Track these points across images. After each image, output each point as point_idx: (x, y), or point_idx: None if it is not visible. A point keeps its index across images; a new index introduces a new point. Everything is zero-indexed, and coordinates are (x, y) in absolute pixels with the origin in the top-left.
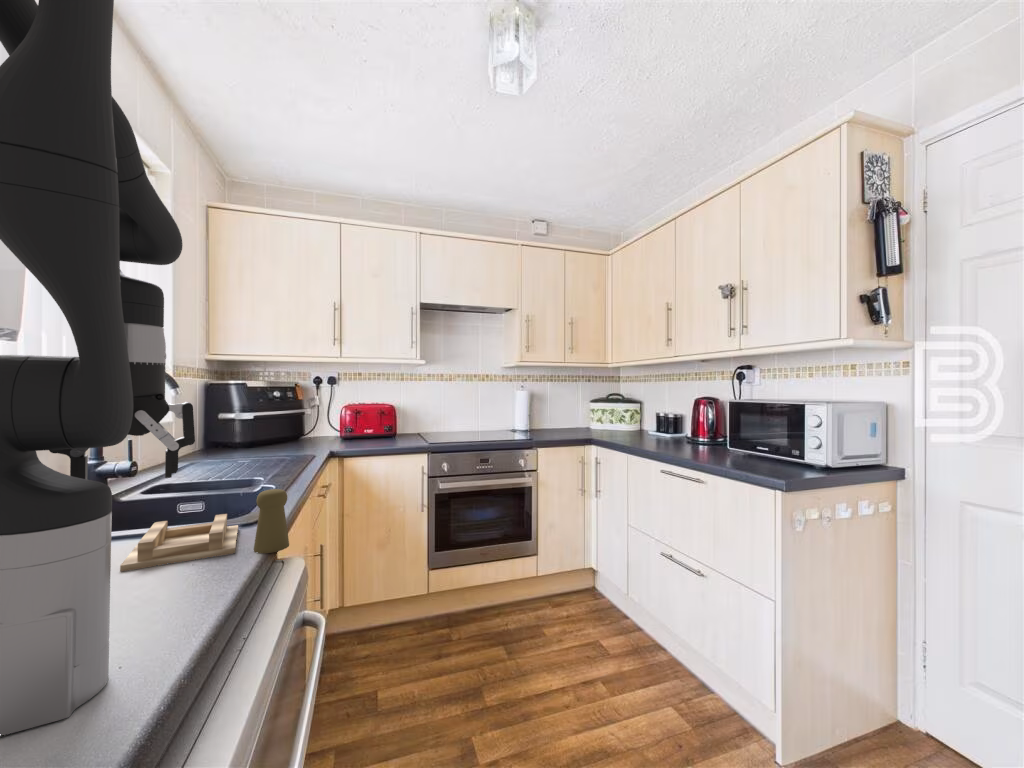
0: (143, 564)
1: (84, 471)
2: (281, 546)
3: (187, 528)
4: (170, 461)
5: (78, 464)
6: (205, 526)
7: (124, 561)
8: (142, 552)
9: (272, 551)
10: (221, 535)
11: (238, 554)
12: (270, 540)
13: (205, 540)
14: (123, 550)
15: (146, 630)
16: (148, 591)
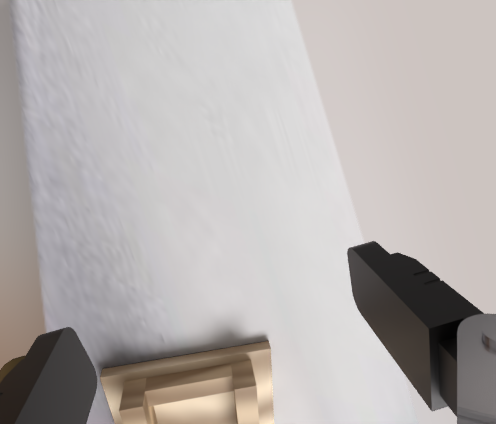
0: (239, 350)
1: (383, 277)
2: (4, 369)
3: None
4: (7, 400)
5: (431, 293)
6: None
7: (269, 363)
8: (246, 372)
9: (22, 357)
10: (121, 403)
11: (93, 362)
12: None
13: (154, 400)
14: (290, 420)
15: (142, 78)
16: (197, 247)
